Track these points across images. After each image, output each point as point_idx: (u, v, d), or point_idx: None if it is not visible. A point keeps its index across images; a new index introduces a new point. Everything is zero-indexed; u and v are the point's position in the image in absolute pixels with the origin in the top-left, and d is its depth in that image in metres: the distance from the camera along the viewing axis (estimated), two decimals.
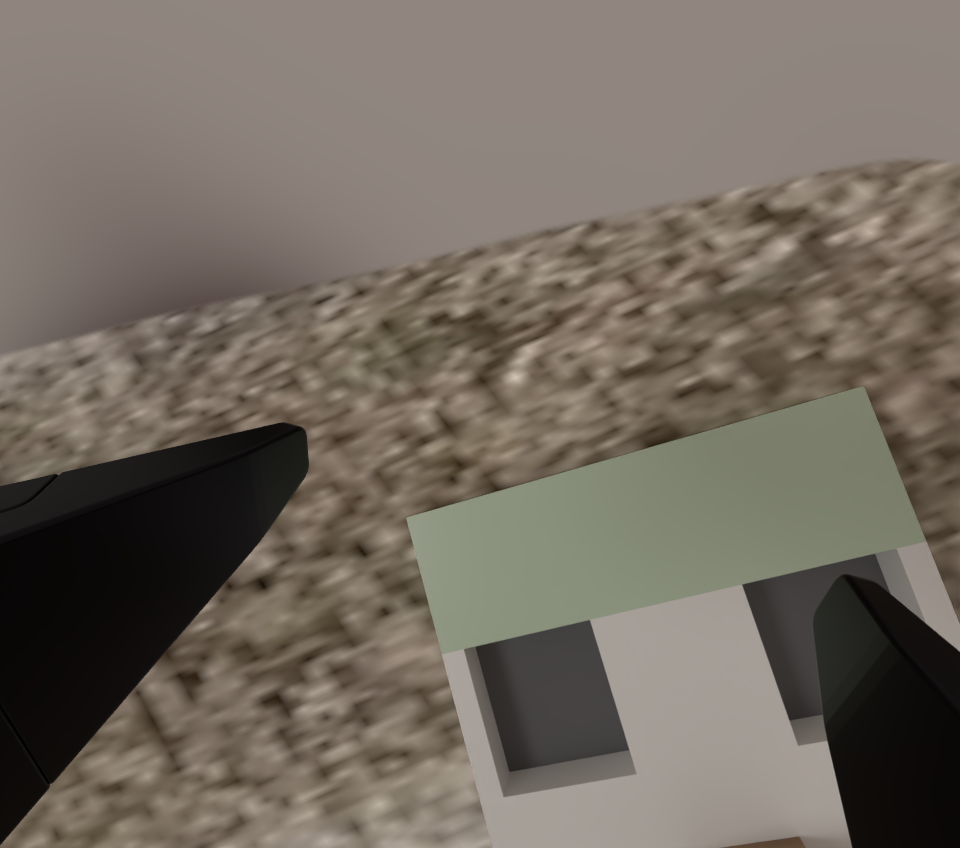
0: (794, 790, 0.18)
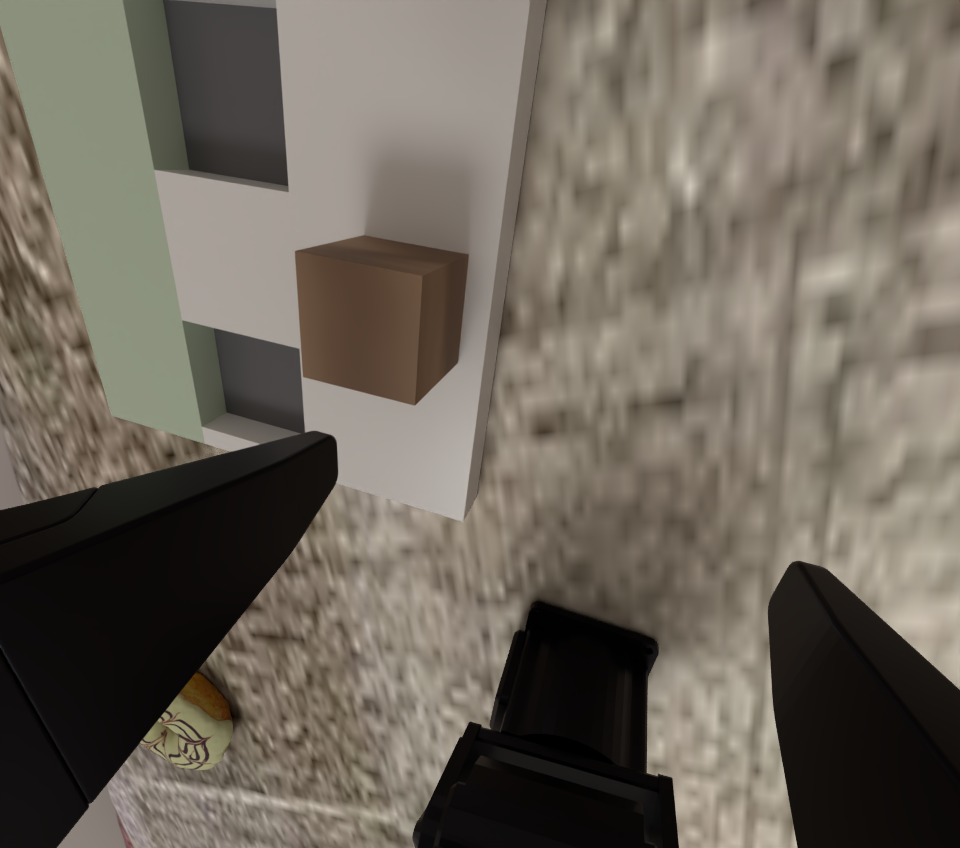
0: (325, 218, 0.18)
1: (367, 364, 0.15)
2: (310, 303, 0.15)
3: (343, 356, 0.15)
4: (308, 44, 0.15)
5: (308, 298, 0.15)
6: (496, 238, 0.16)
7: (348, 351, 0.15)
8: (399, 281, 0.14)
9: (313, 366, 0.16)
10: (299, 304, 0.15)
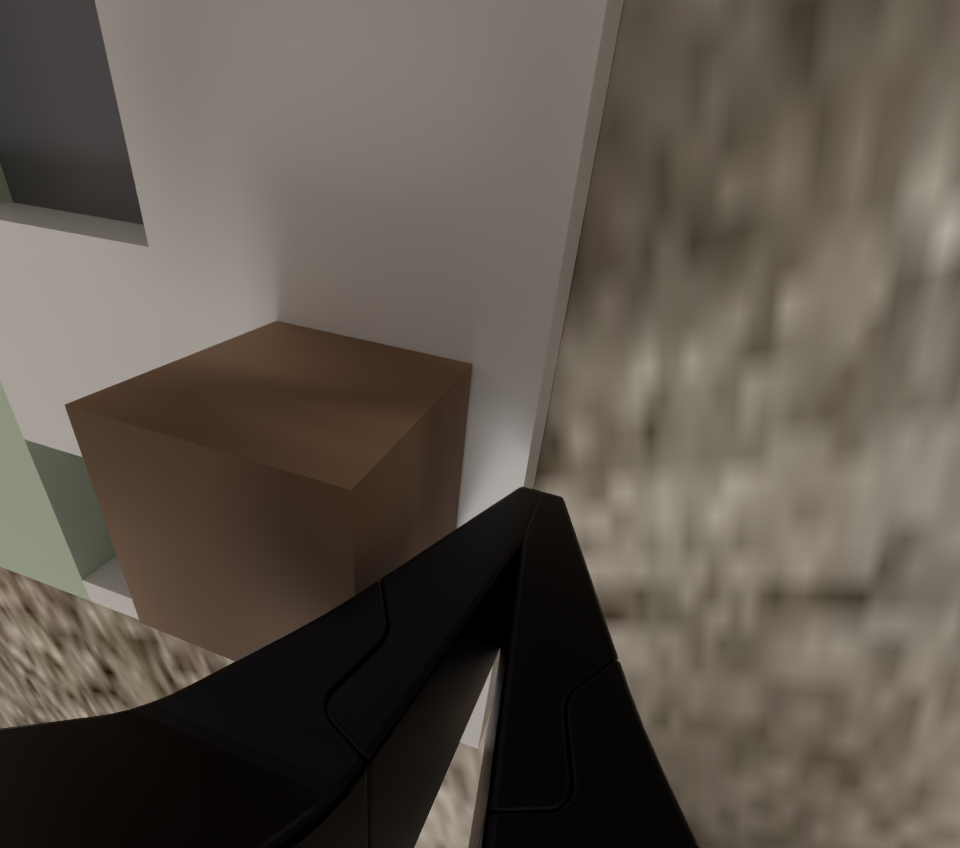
0: (217, 293, 0.10)
1: (252, 627, 0.07)
2: (121, 506, 0.07)
3: (206, 606, 0.07)
4: None
5: (115, 497, 0.07)
6: (542, 339, 0.08)
7: (213, 599, 0.07)
8: (298, 493, 0.05)
9: (154, 610, 0.08)
10: (102, 506, 0.07)
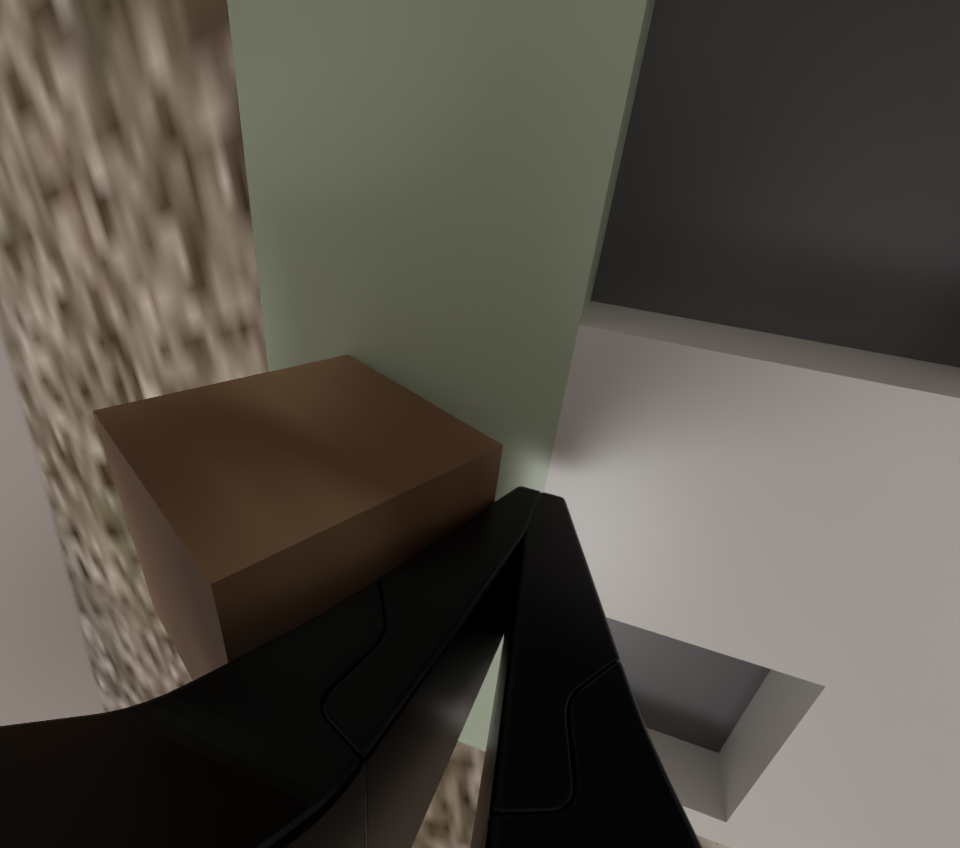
0: None
1: (195, 665, 0.07)
2: (128, 510, 0.07)
3: (174, 626, 0.07)
4: None
5: (124, 500, 0.07)
6: None
7: (176, 623, 0.07)
8: (188, 562, 0.05)
9: (157, 607, 0.08)
10: (122, 503, 0.07)
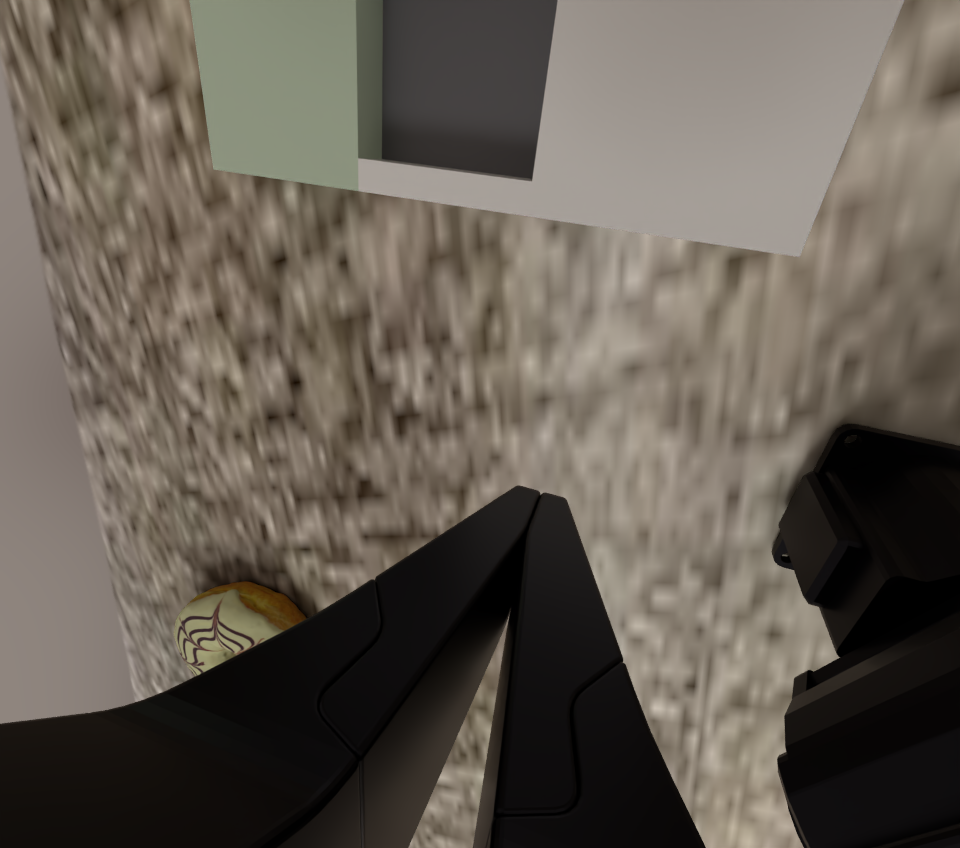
0: None
1: None
2: None
3: None
4: None
5: None
6: None
7: None
8: None
9: None
10: None
